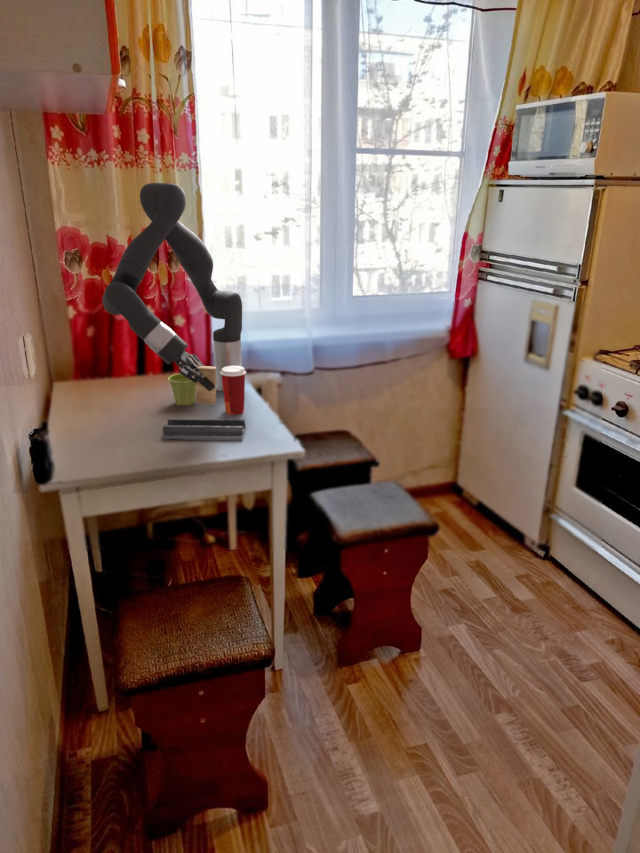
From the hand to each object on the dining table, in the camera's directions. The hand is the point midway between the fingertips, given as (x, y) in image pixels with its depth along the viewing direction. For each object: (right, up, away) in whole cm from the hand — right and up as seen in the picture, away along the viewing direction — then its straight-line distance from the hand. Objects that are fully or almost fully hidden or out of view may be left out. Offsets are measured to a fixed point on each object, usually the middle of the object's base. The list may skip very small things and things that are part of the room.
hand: (213, 387), depth 168 cm
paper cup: (+3, -7, +22) cm, 23 cm away
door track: (-3, -13, +5) cm, 14 cm away
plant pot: (-14, -3, +29) cm, 33 cm away
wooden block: (-2, -4, +2) cm, 5 cm away
